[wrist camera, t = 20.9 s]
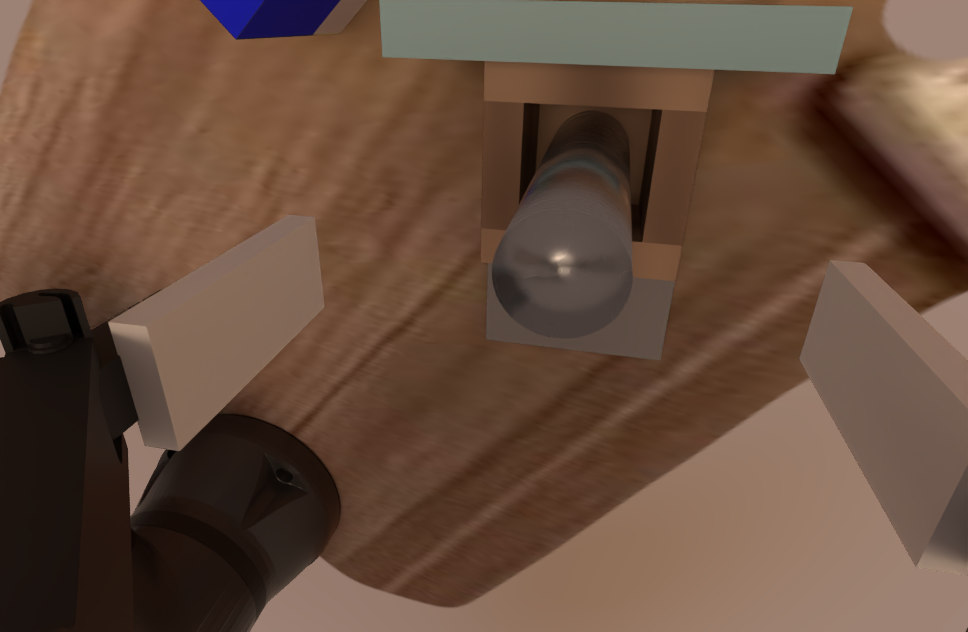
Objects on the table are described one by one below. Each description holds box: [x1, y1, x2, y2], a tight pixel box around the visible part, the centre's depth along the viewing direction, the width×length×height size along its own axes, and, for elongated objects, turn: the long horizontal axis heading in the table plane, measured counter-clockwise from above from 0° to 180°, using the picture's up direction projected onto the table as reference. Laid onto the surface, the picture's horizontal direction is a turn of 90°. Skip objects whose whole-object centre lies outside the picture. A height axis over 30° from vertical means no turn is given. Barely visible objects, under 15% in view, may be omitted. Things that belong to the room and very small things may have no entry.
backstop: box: [379, 0, 853, 360], centre depth 29 cm, size 16×19×10 cm
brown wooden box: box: [481, 61, 715, 281], centre depth 28 cm, size 9×9×7 cm
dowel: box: [492, 111, 633, 339], centre depth 24 cm, size 4×4×16 cm
